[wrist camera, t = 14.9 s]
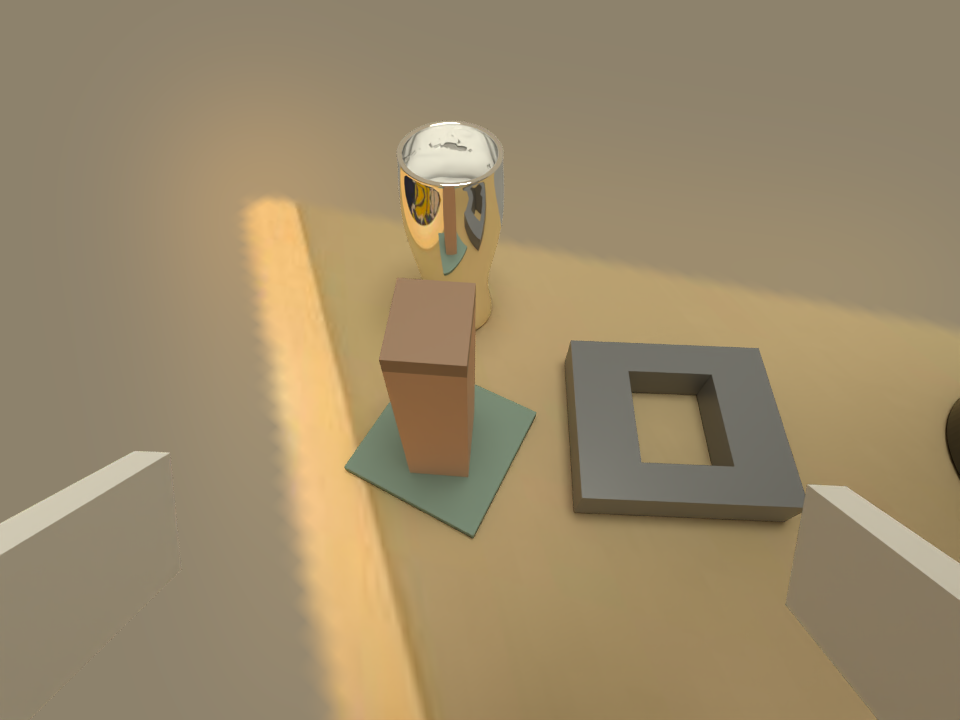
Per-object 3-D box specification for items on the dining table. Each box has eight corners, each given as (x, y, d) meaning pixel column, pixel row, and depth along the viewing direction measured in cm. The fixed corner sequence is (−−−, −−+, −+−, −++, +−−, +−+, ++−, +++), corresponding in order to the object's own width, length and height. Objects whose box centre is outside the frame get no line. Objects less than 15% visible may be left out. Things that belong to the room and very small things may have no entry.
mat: (535, 416, 38) (536, 412, 37) (473, 538, 33) (473, 535, 32) (420, 363, 40) (419, 359, 40) (346, 470, 35) (344, 466, 35)
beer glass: (461, 265, 46) (458, 105, 34) (513, 311, 43) (530, 156, 31) (399, 303, 44) (370, 145, 31) (449, 354, 41) (440, 204, 28)
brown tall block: (474, 411, 37) (475, 283, 26) (468, 477, 35) (466, 366, 23) (420, 407, 37) (397, 277, 26) (409, 472, 35) (379, 359, 23)
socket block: (740, 369, 40) (758, 348, 38) (784, 521, 34) (809, 508, 31) (564, 362, 41) (570, 340, 38) (573, 512, 34) (582, 497, 32)
